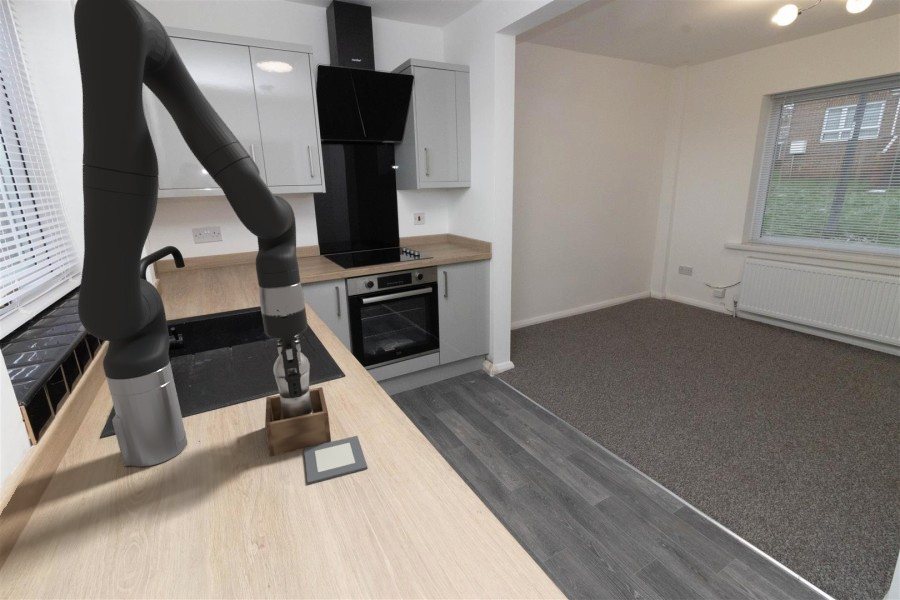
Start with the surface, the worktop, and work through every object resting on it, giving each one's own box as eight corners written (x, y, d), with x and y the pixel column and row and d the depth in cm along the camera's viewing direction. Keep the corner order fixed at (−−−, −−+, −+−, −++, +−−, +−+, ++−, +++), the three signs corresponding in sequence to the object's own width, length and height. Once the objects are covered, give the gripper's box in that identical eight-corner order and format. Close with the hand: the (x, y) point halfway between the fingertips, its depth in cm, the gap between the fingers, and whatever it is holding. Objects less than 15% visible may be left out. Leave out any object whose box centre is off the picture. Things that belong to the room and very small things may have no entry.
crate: (269, 456, 76) (265, 425, 74) (270, 425, 86) (266, 397, 84) (331, 442, 80) (328, 412, 78) (325, 413, 90) (322, 387, 88)
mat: (307, 484, 69) (307, 481, 68) (304, 449, 78) (303, 447, 77) (367, 468, 72) (367, 466, 72) (357, 437, 81) (357, 435, 81)
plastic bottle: (276, 433, 83) (262, 341, 77) (308, 420, 87) (297, 332, 82) (290, 447, 78) (276, 350, 73) (323, 432, 83) (312, 340, 77)
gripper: (262, 300, 80) (274, 375, 85) (259, 321, 68) (274, 408, 72) (302, 295, 83) (312, 368, 88) (307, 315, 70) (318, 399, 75)
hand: (295, 386), depth 80 cm, fingers open, 8 cm apart
